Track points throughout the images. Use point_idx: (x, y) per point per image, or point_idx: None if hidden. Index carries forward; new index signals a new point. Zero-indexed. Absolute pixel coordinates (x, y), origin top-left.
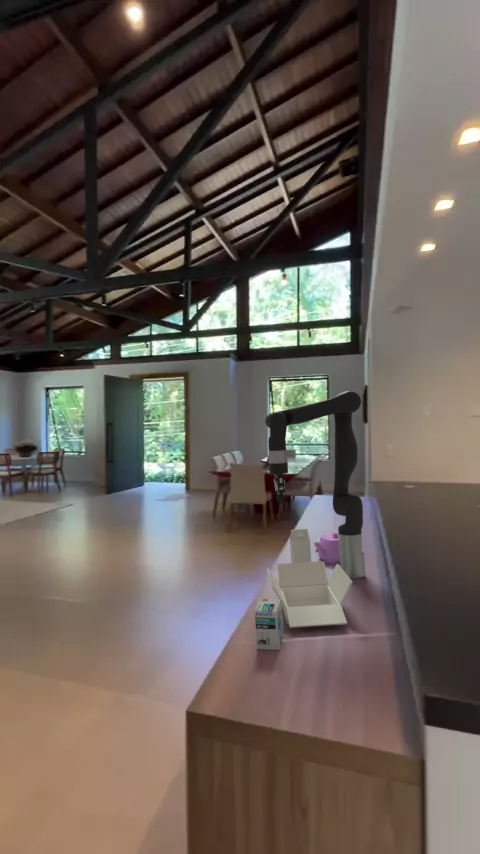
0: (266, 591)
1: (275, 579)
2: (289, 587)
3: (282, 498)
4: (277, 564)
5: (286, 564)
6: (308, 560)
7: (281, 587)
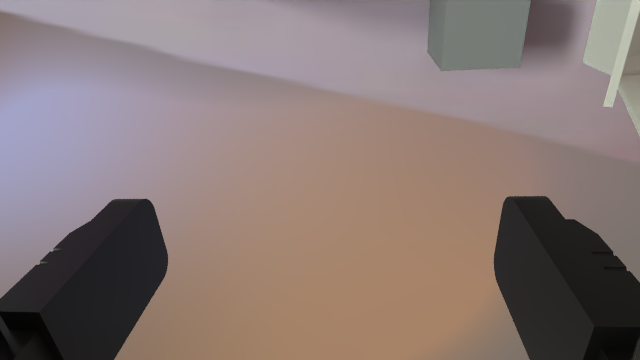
0: (437, 109)
1: (636, 105)
2: (634, 32)
3: (628, 292)
4: (605, 106)
5: (626, 55)
6: None
7: (624, 70)
